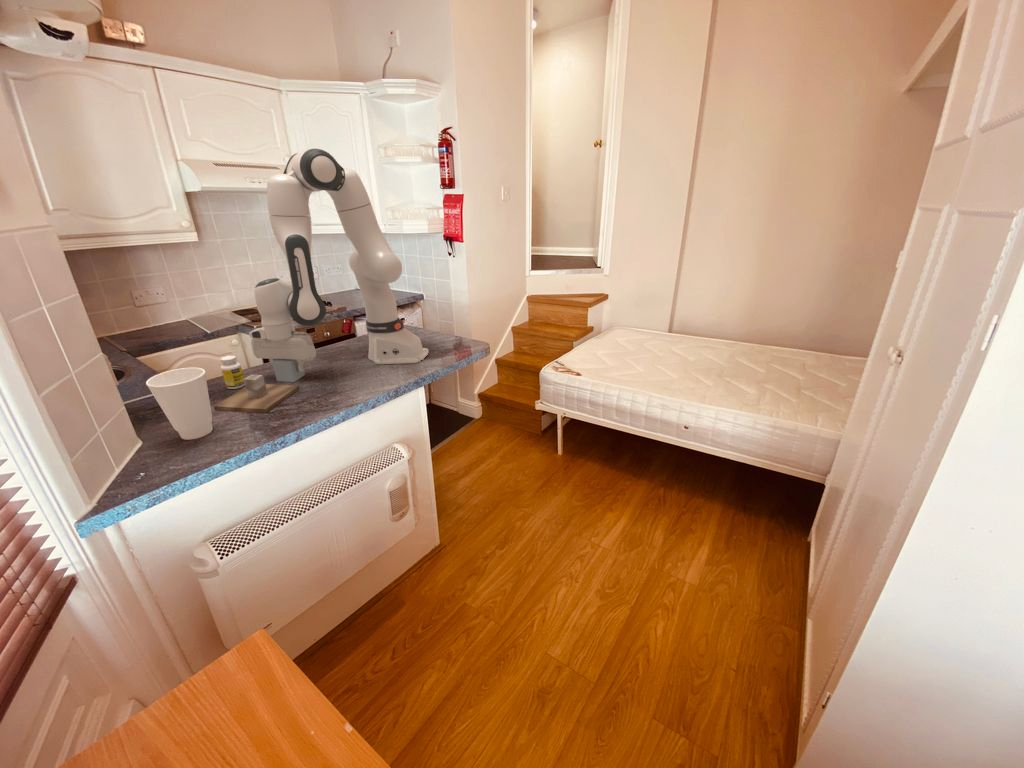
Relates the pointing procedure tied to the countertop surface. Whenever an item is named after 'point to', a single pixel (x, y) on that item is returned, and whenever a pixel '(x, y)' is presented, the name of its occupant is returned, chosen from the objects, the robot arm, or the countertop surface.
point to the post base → (257, 403)
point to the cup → (184, 400)
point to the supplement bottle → (232, 372)
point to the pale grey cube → (286, 370)
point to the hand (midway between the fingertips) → (289, 370)
